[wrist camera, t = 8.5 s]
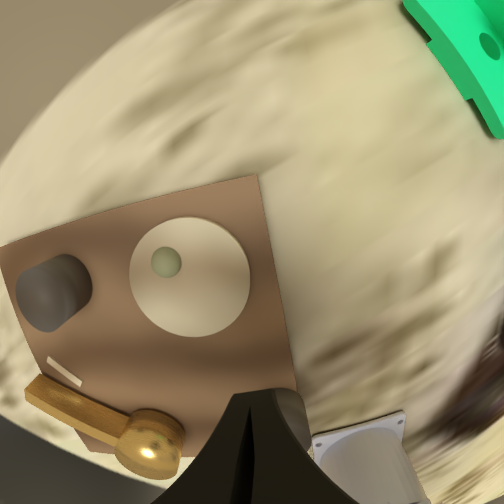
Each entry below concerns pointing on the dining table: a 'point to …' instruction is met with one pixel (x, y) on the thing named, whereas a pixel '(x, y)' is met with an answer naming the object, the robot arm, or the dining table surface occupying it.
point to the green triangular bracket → (469, 49)
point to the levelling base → (160, 308)
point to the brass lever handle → (115, 428)
